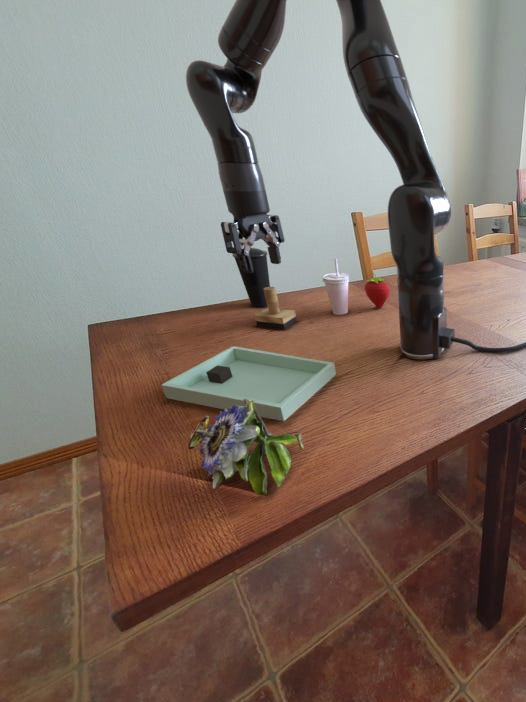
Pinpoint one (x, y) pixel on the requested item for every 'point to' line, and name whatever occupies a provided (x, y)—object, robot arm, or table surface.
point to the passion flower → (243, 447)
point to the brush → (274, 313)
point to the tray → (253, 382)
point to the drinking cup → (256, 277)
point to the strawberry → (377, 291)
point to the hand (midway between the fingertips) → (263, 267)
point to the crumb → (219, 374)
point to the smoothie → (337, 290)
